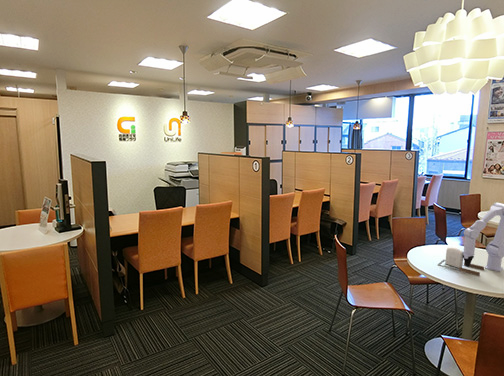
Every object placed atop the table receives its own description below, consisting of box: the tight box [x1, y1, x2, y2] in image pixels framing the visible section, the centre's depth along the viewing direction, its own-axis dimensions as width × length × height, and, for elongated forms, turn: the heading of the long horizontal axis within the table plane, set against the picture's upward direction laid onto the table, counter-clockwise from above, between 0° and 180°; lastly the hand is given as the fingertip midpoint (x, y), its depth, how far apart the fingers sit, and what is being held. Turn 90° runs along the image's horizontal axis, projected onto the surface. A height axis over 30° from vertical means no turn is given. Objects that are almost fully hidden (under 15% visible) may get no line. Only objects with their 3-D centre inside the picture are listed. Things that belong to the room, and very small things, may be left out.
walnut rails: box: [458, 261, 485, 277], centre depth 202 cm, size 14×11×2 cm
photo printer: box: [444, 246, 464, 269], centre depth 208 cm, size 10×4×12 cm, turn 30°
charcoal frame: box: [437, 259, 458, 271], centre depth 211 cm, size 15×12×1 cm
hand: (467, 266), depth 203 cm, fingers closed, pressing on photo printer
